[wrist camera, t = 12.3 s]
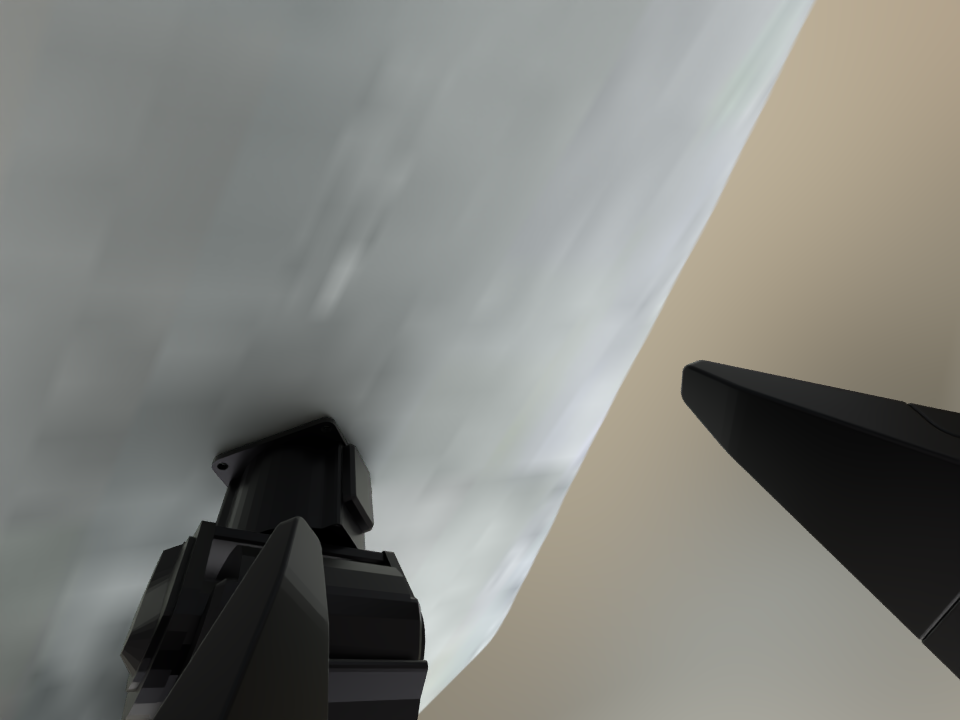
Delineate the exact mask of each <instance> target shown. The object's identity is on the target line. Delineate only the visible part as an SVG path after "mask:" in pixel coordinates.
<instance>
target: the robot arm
mask: <svg viewBox="0 0 960 720" xmlns="http://www.w3.org/2000/svg"><path fill="white" fill-rule="evenodd" d="M681 395H682V398H683V400H684V402H685V403H686V405H687V406H688V407H689V408H690V409H691V410H692V412H693V413H694V414H695V415H696V416H697V418H698V419H699V420H700V421H701V422H702V424H703V425H704V426H705V427H706V428H707V429H708V431H709V432H710V433H711V434H712V435H713V437H714V438H715V439H716V440H717V441H718V443H719V444H720V445H721V446H722V447H723V448H724V449H725V450H726V452H727V453H728V454H730V456H731V457H733V459H734V460H735V461H736V462H737V463H738V464H739V465H740V466H741V467H743V468H744V470H746V471H747V472H748V473H749V474H750V475H751V476H752V477H753V478H754V479H755V480H756V481H757V482H758V483H759V484H760V485H761V486H762V487H763V488H764V489H765V490H766V491H767V492H768V493H769V494H770V495H771V496H772V497H773V498H774V499H775V500H776V501H777V502H778V503H780V504H781V506H783V507H784V508H785V509H786V510H787V511H788V512H789V513H790V514H791V515H792V516H793V517H794V518H795V519H796V520H797V521H798V522H799V523H800V524H801V525H802V526H803V527H804V528H805V529H806V530H807V531H808V532H809V533H810V534H811V535H812V536H813V537H814V538H815V539H816V540H818V542H819V543H821V544H822V545H823V546H824V547H825V548H826V549H827V550H828V551H829V552H830V553H831V554H832V555H833V556H834V557H835V558H836V559H837V560H838V561H839V562H840V563H841V564H842V565H843V566H844V567H845V568H846V569H847V570H848V571H849V572H850V573H852V575H853V576H854V577H856V579H858V580H859V581H860V582H861V583H862V584H863V585H864V586H865V587H866V588H867V589H868V590H869V591H870V592H871V593H872V594H873V595H874V596H875V597H876V598H877V599H878V600H879V601H880V602H881V603H882V604H883V605H884V606H885V607H886V608H887V609H888V610H890V612H892V614H893V615H895V616H896V617H897V618H898V619H899V620H900V621H901V622H902V623H903V624H904V625H905V626H906V627H907V628H908V629H909V630H910V631H911V632H912V633H913V634H914V635H915V636H916V637H917V638H918V639H920V640H922V643H923V644H924V645H925V646H926V647H927V648H928V649H929V650H930V651H931V652H932V653H933V654H934V655H935V656H936V657H937V658H938V659H939V660H940V661H941V662H942V663H943V664H945V665H946V666H947V667H948V668H949V669H950V670H951V671H952V672H953V673H954V674H955V675H956V676H957V677H958V678H959V679H960V413H957V412H951V411H947V410H941V409H936V408H932V407H927V406H922V405H918V404H913V403H909V404H906V403H905V402H903V401H898V400H893V399H888V398H884V397H878V396H874V395H868V394H864V393H859V392H855V391H850V390H845V389H840V388H835V387H831V386H826V385H821V384H815V383H811V382H806V381H802V380H797V379H792V378H787V377H782V376H777V375H772V374H767V373H763V372H758V371H753V370H749V369H744V368H739V367H734V366H729V365H724V364H720V363H714V362H710V361H705V360H699V361H696V362H693V363H691V364H688V365H686V366H685V367H684V369H683V374H682V386H681ZM325 425H328V426H330V428H323V426H325ZM220 463H226V464H228V465H222V464H220ZM212 469H213V470H214V472H215V473H216V474H217V475H218V476H219V478H220V479H221V480H222V481H223V482H224V483H225V485H226V486H227V487H228V488H227V491H226V494H225V497H224V500H223V503H222V506H221V509H220V512H219V515H218V518H217V521H216V523H213V522H207V521H201V523H200V525H199V527H198V529H197V531H196V532H195V534H194V536H193V537H191V536H189V538H188V539H187V541H186V542H184V543H183V544H182V545H179V546H176V547H173V548H170V549H167V550H164V551H163V553H162V555H161V557H160V559H159V561H158V563H157V565H156V567H155V570H154V572H153V574H152V576H151V579H150V581H149V583H148V585H147V588H146V590H145V592H144V595H143V597H142V599H141V602H140V604H139V606H138V609H137V611H136V614H135V616H134V619H133V622H132V625H131V627H130V630H129V633H128V635H127V638H126V641H125V643H124V646H123V649H122V651H121V654H120V656H121V658H122V660H123V662H124V664H125V666H126V668H127V670H128V671H129V673H130V674H129V678H128V682H127V687H126V692H128V693H127V697H126V702H125V706H124V711H123V715H122V720H417V719H418V712H419V705H420V698H421V694H422V690H423V686H424V682H425V679H426V675H427V671H428V663H427V661H426V660H423V659H424V651H425V628H424V621H423V616H422V613H421V608H420V604H419V602H418V600H417V599H416V598H415V597H414V595H413V593H412V591H411V588H410V586H409V584H408V582H407V580H406V578H405V575H404V573H403V571H402V569H401V567H400V565H399V562H398V560H397V558H396V556H395V554H394V552H388V551H383V552H382V553H381V552H375V551H369V550H365V535H364V533H365V532H368V531H370V530H372V528H373V525H374V519H373V506H372V488H371V481H370V473H369V471H368V469H367V467H366V465H365V463H364V462H363V460H362V458H361V456H360V454H359V452H358V450H357V449H356V447H355V446H354V445H352V444H348V443H347V442H346V440H345V438H344V436H343V434H342V433H341V431H340V429H339V427H338V425H337V424H336V422H335V421H334V419H332V418H328V417H325V418H321V419H319V420H316V421H313V422H310V423H307V424H305V425H302V426H299V427H296V428H293V429H290V430H288V431H285V432H282V433H279V434H276V435H274V436H271V437H268V438H265V439H262V440H260V441H257V442H254V443H251V444H248V445H246V446H243V447H240V448H237V449H234V450H232V451H229V452H226V453H223V454H220V455H218V456H216V457H215V459H214V461H213V463H212Z"/></svg>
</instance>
